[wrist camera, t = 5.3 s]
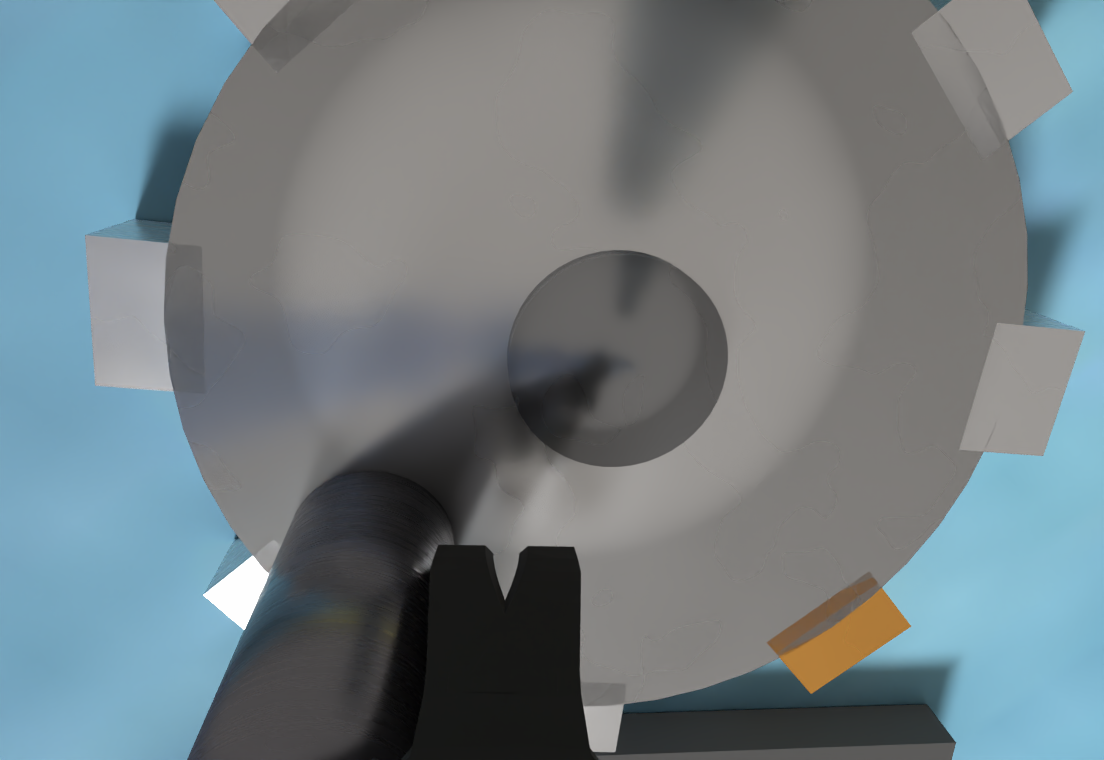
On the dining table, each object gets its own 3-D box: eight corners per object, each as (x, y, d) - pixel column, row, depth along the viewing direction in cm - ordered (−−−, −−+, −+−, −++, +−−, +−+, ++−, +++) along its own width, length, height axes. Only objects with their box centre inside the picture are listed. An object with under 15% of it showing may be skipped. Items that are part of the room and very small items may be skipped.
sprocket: (-76, 268, 11) (-718, 459, 5) (708, -460, 10) (1132, -1487, 3) (532, 808, 16) (569, 1263, 9) (1153, 378, 14) (1697, 595, 8)
